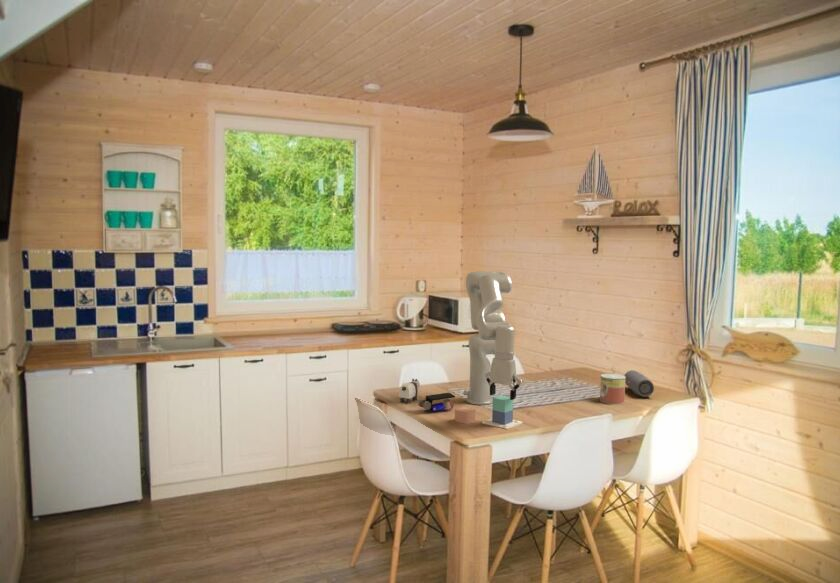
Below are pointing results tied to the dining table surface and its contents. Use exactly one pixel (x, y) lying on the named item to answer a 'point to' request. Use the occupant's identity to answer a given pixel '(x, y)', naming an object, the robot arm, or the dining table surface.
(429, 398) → the figurine character
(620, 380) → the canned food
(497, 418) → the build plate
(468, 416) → the coral brick
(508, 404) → the teal brick
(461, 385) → the dining table surface
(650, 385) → the bluetooth speaker
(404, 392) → the giant panda
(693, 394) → the dining table surface
